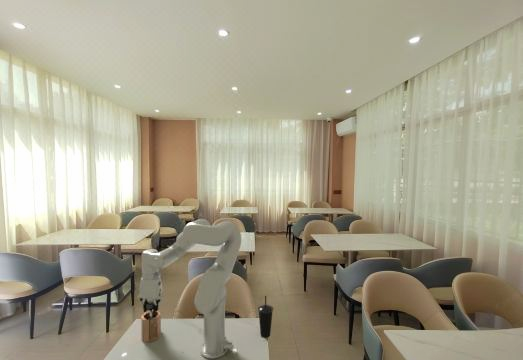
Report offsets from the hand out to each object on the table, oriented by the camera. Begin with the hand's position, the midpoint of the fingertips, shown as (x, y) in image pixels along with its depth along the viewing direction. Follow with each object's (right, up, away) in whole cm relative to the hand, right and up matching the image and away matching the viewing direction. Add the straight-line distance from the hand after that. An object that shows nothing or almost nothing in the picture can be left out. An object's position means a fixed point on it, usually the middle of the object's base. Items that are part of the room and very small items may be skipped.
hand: (150, 310), depth 129 cm
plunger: (0, -11, +1) cm, 11 cm away
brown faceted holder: (0, -13, +1) cm, 13 cm away
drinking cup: (+57, -13, +2) cm, 58 cm away
